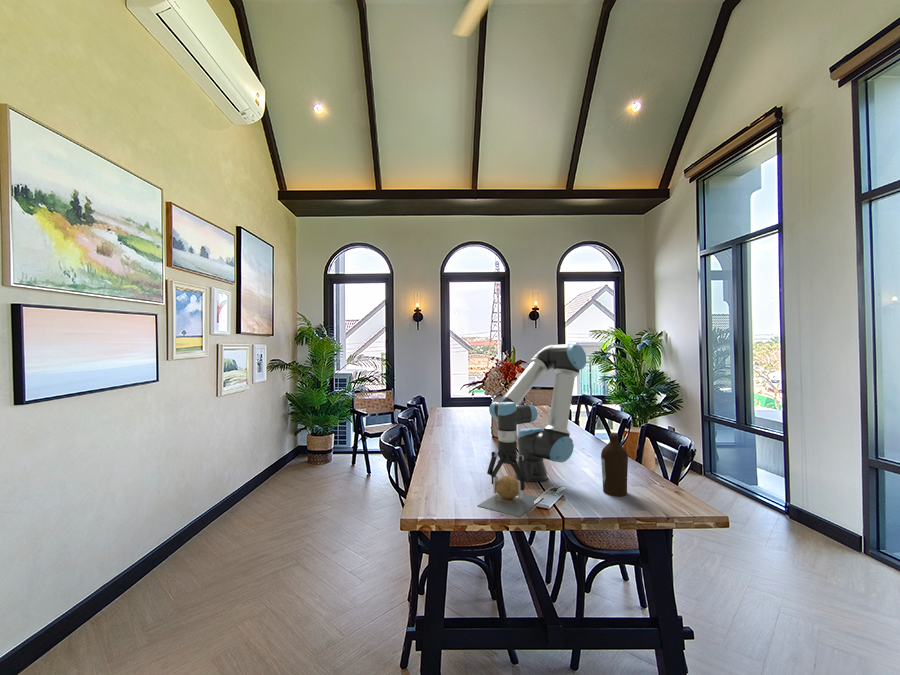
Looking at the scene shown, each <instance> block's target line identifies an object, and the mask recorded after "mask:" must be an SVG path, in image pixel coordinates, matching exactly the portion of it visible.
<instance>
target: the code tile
mask: <svg viewBox="0 0 900 675" xmlns="http://www.w3.org/2000/svg"><path fill="white" fill-rule="evenodd" d="M538 497H539V496H535V495H531V494H527V493H526V494H525V493H523V498H521V499H518V495H517V496H516V497H514V498H513V499H505V498H502V497H501V496H500V495H499V494H498V493H495V494H494V495H492V496H490V497H489V498H487V499H486V500H484V501H482V502H480V503H479V504H477V507H479V508H481V509H482V508H483V509H486V510H489V511H490V510H491V511H495V512H499V513H502V514H506V515H511V516H514V517H519V518H521V517H522V516H523V515H524V514H526V513H527V512H528V511H530V510H531V509H532V508H533V507H535V506H534V501H535V500H536V499H537V498H538Z"/></svg>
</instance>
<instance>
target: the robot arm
mask: <svg viewBox="0 0 900 675" xmlns="http://www.w3.org/2000/svg"><path fill="white" fill-rule="evenodd" d="M586 365H587V355H586V352H585V350H584V348H583V347H582V346H581V345H579V344H575V343H574V344H573V343H567V344H565V343H564V344H563V343H562V344H549V345H546V346H545V347H543V348H541V349H540V350H539V351H537V352H536V353H535V354H534V356H533V357H532V358H531V359H530V360H529V365H528V366H527V367H525V370H524V371H523V372H522V373H521V374H520V376H519V377H518V378H517V379H516V380H515V382H514V383H513V384H512V385H511V386H510V387H509V389H508V390H507V391H506V392H505V394H504V395H503V396H502V398H500V400H499V401H497V400H496V401H493V402H492V403H490V406H489V409H488V410H489V414H490V416H491V417H492V418H493V419H497V436H498V438H497V439H498V441H497V444H498V445H497V446H498V447H497V449H498V451H496V450H494V451H491V455H490V456H491V458H490V461H489V465H488V467H487V468H488V469H487V472H486V473H487V475H490V477H491V485H492V488H493V491H492V492H493V493H492V494H494V495H496V494H497V492H496V485H497V482H498V481H499V476H498V473H499V471H500V470H501V468H502V466H503V465H504V464H506V465H510V466H511V467H512V469H513V470H514V476H515V478H516V479H518V480H519V481H518V499H521V498H523V494H524V490H525V489H526V482H530V483H531V482H532V483H533V482H535V483H537V482H543V481H546V480H547V479H548V471H547V468H546V465H545V461H544V459H545V460H548V461H552V462H554V463H565V462H567V461H568V460H569V459H570V458H571V456H572V455H573V452H574V441H573V439H572V438H571V437H570V435H571V434H570V431H569V430H568V426H569V425H568V424H569V418H570V411H571V405H572V398H573V391H574V385H575V378H576V377H578V376H579V375H580V370H581V371H582V370H583V369H584V368H585V367H586ZM552 369H553V372H554V373H555V379H554V386H553V391H552V396H551V403H550V409H549V416H548V422H547V425H546V426H544V427H543V428H542V427H525V428H520V429H519V430H518V433H517V428H518V426H517V425H523V424H530V423H533V422H535V421H536V420H537V419H538V410H537V407H536V406H534V405H533V404H520V403H521V402H522V400H523V399H524V398H525V396H526V395H527V394H528V393H529V391H530V390H531V389H532V388H533V387H534V386H535V383H537V381H538V380H539V378H541V376H542V375H544V374H546V373H547V372H548V371H549V370H552ZM517 434H518V435H517ZM517 449H518V450H517ZM517 452H518V453H517ZM497 458H499V460H498V462H497V464H496V461H497ZM495 464H496V465H495Z"/></svg>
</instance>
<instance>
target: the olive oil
mask: <svg viewBox="0 0 900 675" xmlns="http://www.w3.org/2000/svg"><path fill="white" fill-rule="evenodd" d="M600 459H601V460H600V462H601V474H602V475H601V476H602V491H603V493H604V494H606V495H609V496H613V497H624V496H626V495H628V467H629V456H628V452H627V450H626V449H625V448H624V447H623V446H622V445H621V444H620V442H619V433H618V432H614V431H613V432H610V433H609V442H608V443H607V444H606V445H605V446H604V447H603V448H602V450H601V453H600Z"/></svg>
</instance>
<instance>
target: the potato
mask: <svg viewBox="0 0 900 675" xmlns="http://www.w3.org/2000/svg"><path fill="white" fill-rule="evenodd" d="M518 482H519V481H518V480H516V479H515V478H514V477H513V476H512V475H504V476H501V477H500V478H498V482H497V485H496V492H497V493H498V494H499V495H500V496H501V497H502V498H505V499H513V498H514V497H516V496H517V495H518ZM497 493H496V494H497Z"/></svg>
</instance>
